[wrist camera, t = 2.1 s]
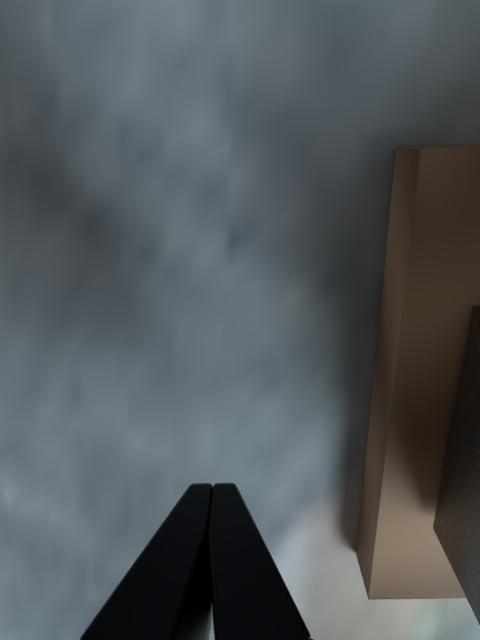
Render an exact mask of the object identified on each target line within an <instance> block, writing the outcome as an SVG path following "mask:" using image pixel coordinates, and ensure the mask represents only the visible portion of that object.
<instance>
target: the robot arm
mask: <svg viewBox="0 0 480 640" xmlns="http://www.w3.org/2000/svg"><path fill="white" fill-rule="evenodd" d="M212 610H213V623H214V636H215V640H313V639H310V637H311V636H310V633H309V631H308V629H307V627H306V625H305V623H304V621H303V619H302V617H301V615H300V613H299V611H298V609H297V607H296V605H295V603H294V601H293V599H292V597H291V595H290V593H289V591H288V589H287V587H286V585H285V583H284V581H283V579H282V577H281V575H280V573H279V571H278V569H277V567H276V565H275V563H274V560H273V558H272V556H271V554H270V552H269V550H268V548H267V546H266V544H265V542H264V540H263V538H262V536H261V534H260V532H259V530H258V528H257V526H256V524H255V522H254V520H253V518H252V516H251V514H250V512H249V510H248V508H247V506H246V504H245V502H244V500H243V498H242V496H241V494H240V492H239V490H238V488H237V486H236V485H235V484H234V483H216V484H214V486H212V485H211V484H210V483H201V484H191V485H190V486H189V487H188V489H187V490H186V491H185V493H184V494H183V496H182V497H181V498H180V500H179V501H178V503H177V504H176V505H175V507H174V508H173V509H172V511H171V512H170V514H169V515H168V516H167V518H166V519H165V521H164V522H163V523H162V525H161V526H160V528H159V529H158V530H157V532H156V533H155V535H154V536H153V537H152V539H151V540H150V541H149V543H148V544H147V546H146V547H145V548H144V550H143V551H142V553H141V554H140V555H139V557H138V558H137V560H136V561H135V562H134V564H133V565H132V567H131V568H130V569H129V571H128V572H127V574H126V575H125V576H124V578H123V579H122V580H121V582H120V583H119V585H118V586H117V587H116V589H115V590H114V592H113V593H112V594H111V596H110V597H109V599H108V600H107V601H106V603H105V604H104V606H103V607H102V608H101V610H100V611H99V612H98V614H97V615H96V617H95V618H94V619H93V621H92V622H91V624H90V625H89V626H88V628H87V629H86V631H85V632H84V633H83V635H82V636H81V638H80V640H208V639H209V632H210V625H211V616H212Z"/></svg>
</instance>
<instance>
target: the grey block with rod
mask: <svg viewBox="0 0 480 640" xmlns="http://www.w3.org/2000/svg"><path fill="white" fill-rule="evenodd" d="M433 529H434V531H435V533H436V536H437V538H438V540H439V542H440V544H441V546H442V548H443V550H444V552H445V554H446V556H447V558H448V560H449V562H450V565H451V567H452V569H453V571H454V573H455V575H456V577H457V579H458V581H459V583H460V585H461V587H462V589H463V591H464V594H465V596H466V598H467V600H468V602H469V604H470V606H471V608H472V610H473V612H474V614H475V616H476V618H477V620H478V622H479V625H480V306H472V311H471V317H470V323H469V328H468V334H467V339H466V345H465V350H464V356H463V362H462V367H461V373H460V378H459V384H458V390H457V395H456V401H455V406H454V412H453V418H452V423H451V429H450V434H449V440H448V445H447V451H446V457H445V462H444V468H443V473H442V479H441V485H440V490H439V496H438V501H437V507H436V513H435V518H434V524H433Z"/></svg>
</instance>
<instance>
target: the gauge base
mask: <svg viewBox="0 0 480 640" xmlns="http://www.w3.org/2000/svg"><path fill="white" fill-rule="evenodd" d="M472 306H480V145H444V146H407V147H396V151H395V161H394V171H393V182H392V192H391V202H390V212H389V223H388V233H387V243H386V254H385V264H384V274H383V285H382V295H381V305H380V315H379V326H378V336H377V346H376V357H375V367H374V377H373V387H372V398H371V408H370V418H369V429H368V439H367V449H366V459H365V470H364V480H363V490H362V501H361V511H360V521H359V532H358V542H357V552H356V555H357V559H358V563H359V566H360V570H361V574H362V577H363V581H364V585H365V588H366V592H367V596H368V599H369V600H370V599H435V598H466V596H465V594H464V591H463V589H462V587H461V585H460V583H459V581H458V579H457V577H456V575H455V573H454V571H453V569H452V567H451V565H450V562H449V560H448V558H447V556H446V554H445V552H444V550H443V548H442V546H441V544H440V542H439V540H438V538H437V536H436V533H435V531H434V529H433V524H434V518H435V513H436V507H437V501H438V496H439V490H440V485H441V479H442V473H443V468H444V462H445V457H446V451H447V445H448V440H449V434H450V429H451V423H452V418H453V412H454V406H455V401H456V395H457V390H458V384H459V378H460V373H461V367H462V362H463V356H464V350H465V345H466V339H467V334H468V328H469V323H470V317H471V311H472Z"/></svg>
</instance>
